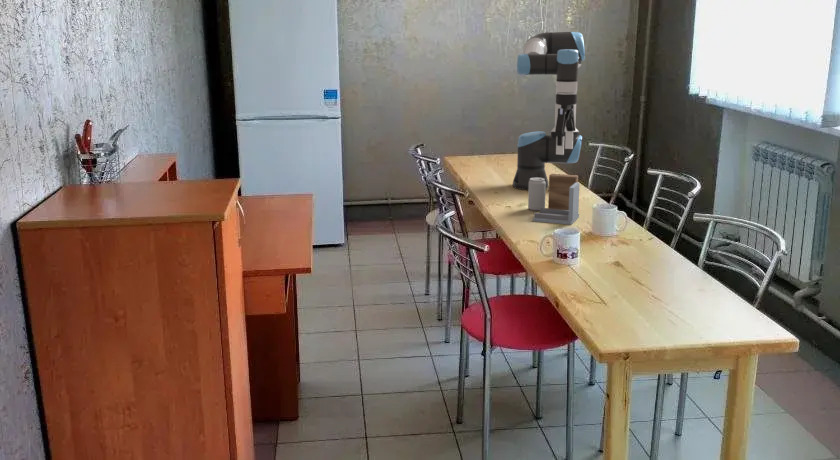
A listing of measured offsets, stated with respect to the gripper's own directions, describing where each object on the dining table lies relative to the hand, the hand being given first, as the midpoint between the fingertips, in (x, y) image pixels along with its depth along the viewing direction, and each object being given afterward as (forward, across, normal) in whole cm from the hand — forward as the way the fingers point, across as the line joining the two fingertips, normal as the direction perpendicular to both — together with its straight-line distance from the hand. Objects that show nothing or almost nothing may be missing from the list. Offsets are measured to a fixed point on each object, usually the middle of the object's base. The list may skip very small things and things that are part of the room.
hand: (564, 151), depth 290 cm
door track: (+23, +11, 0) cm, 25 cm away
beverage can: (+23, -1, -10) cm, 25 cm away
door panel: (+23, 0, 0) cm, 23 cm away
